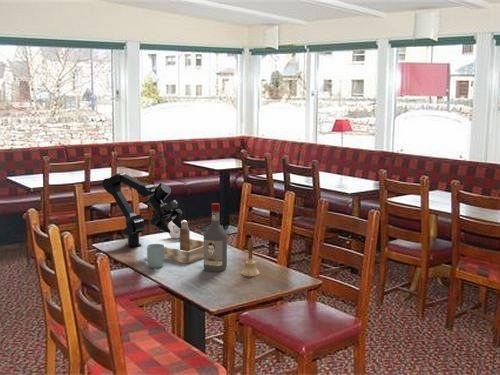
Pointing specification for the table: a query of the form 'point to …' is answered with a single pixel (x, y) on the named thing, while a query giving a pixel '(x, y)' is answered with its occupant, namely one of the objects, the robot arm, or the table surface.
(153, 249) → the cup
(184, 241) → the pepper mill
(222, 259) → the liquor
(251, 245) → the hand bell
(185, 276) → the table surface
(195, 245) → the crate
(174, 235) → the white knot sculpture
